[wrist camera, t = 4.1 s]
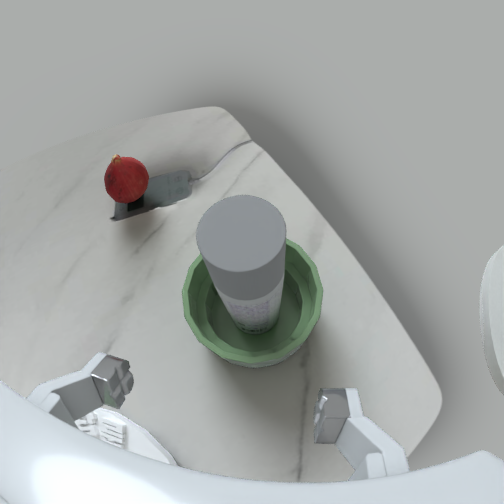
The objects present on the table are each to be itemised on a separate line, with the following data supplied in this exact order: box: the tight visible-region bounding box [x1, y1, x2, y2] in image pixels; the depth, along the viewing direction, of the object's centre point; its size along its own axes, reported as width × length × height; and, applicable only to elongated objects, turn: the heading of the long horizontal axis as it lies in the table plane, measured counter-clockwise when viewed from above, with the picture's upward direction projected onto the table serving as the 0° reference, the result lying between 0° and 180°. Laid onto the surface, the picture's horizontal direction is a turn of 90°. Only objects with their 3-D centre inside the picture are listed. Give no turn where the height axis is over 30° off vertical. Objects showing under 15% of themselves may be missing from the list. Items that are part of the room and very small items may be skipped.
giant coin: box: [74, 407, 178, 466], centre depth 17 cm, size 20×20×3 cm
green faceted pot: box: [182, 238, 323, 368], centre depth 24 cm, size 11×11×6 cm
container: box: [196, 195, 286, 335], centre depth 20 cm, size 5×5×15 cm
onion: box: [104, 154, 149, 203], centre depth 32 cm, size 6×6×8 cm
